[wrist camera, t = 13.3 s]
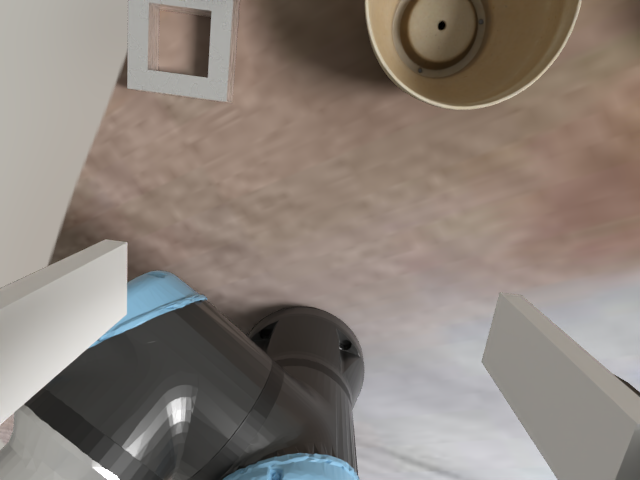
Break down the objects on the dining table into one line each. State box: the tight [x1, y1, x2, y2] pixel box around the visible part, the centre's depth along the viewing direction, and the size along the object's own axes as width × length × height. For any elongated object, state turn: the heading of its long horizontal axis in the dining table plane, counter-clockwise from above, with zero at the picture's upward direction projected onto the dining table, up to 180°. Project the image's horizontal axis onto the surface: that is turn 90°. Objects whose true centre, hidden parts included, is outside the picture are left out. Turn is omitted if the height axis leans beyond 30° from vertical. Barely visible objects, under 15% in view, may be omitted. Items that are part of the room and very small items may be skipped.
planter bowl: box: [365, 0, 581, 110], centre depth 35 cm, size 16×16×11 cm
